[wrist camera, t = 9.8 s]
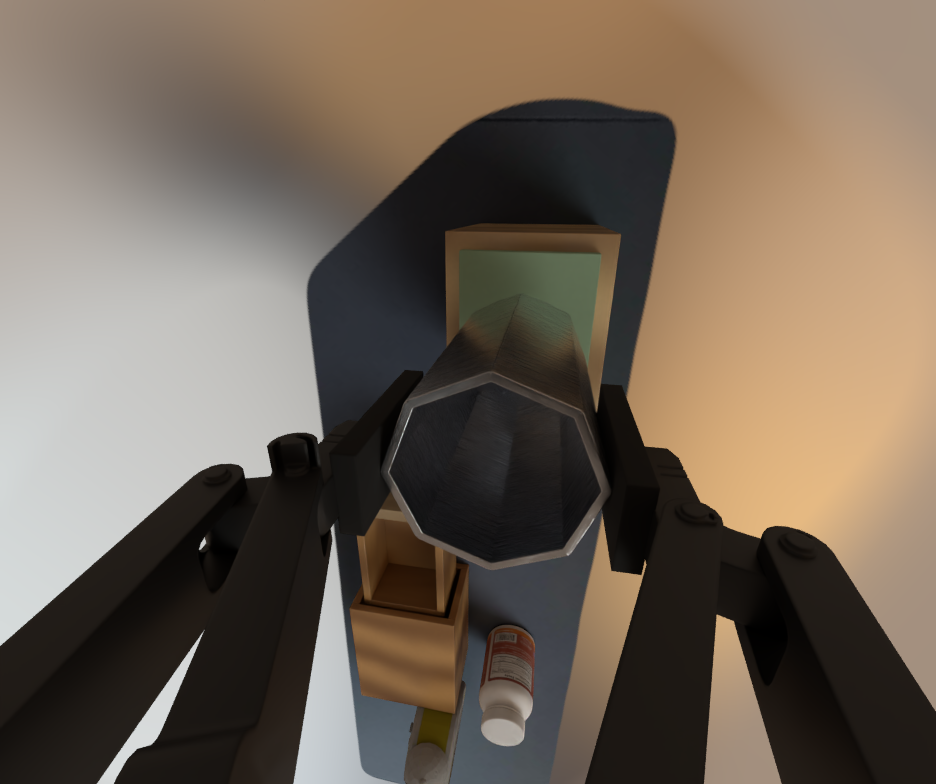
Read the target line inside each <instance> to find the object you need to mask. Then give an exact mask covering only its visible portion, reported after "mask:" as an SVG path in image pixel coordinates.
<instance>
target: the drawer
mask: <svg viewBox="0 0 936 784" xmlns="http://www.w3.org/2000/svg"><path fill="white" fill-rule="evenodd" d="M357 542H358V550H359V558H360V566H361V574H362V583H363V591H364V600H365V604H368V605H374V606H380V607H387V608H393V609H399V610H405V611H411V612H417V613H423V614H429V615H435V616H441V617H444V616H445V613H446V609H447V605H448V601H449V598H450V594H451V590H452V586H453V583H454V579H455V575H456V555H454V554H452V553H450V552H448V551H445V550H443V549H441V548H439V547H436V546H434V545H432V544H429V543H427V542H425V541H423V540H420V539H418V538H417V537H416V536H415V534H414V533H413V531H412V529H411V527H410V525H409V524H408V522H407V520H406V518H405V516H404V515H403V513H402V511H401V509H400V507H399V506H398V504H397V502H396V500H395V498H394V497H393V495H392V493H391V491H390V493H389V495H388V497H387V498H386V500H385V502H384V503H383V505H382V507H381V509H380V510H379V512H378V514H377V516H376V517H375V519H374V521H373V523H372V524H371V526H370V528H369V530H368V531H367V533H366V535H365V536H357Z"/></svg>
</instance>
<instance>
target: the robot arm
mask: <svg viewBox="0 0 936 784" xmlns="http://www.w3.org/2000/svg"><path fill="white" fill-rule="evenodd" d="M422 379H423V371H411V370H405V371H404V372H403V373H402V374H401V375H400V376H399V377H398V378H397V379H396V380H395V382H394V383H393V384H392V385H391V386H390V387H389V388H388V389H387V390H386V391H385V392H384V394H383V395H382V396H381V397H380V398H379V399H378V400H377V401H376V402H375V403H374V404H373V406H372V407H371V408H370V409H369V410H368V411H367V412H366V413H365V414H364V415H363V416H362V418H361V419H360V420H359V421H352V420H348V421H346V422H344V423H342V424H340V425H338V426H336V427H335V428H334V429H333V430H332V431H331V432H330V433H329V435H327V436H326V437H325V438H324V439H323V440H322V442H320V443H319V444H318V441H317V437H315V436H314V435H312V434H308V433H292V434H287V435H284V436H281V437H278V438H276V439H274V440H273V441H271V442H270V443H269V445H268V446H267V448H268V453H269V458H270V463H271V468H272V474H271V476H268V477H258V478H246V479H245V475H244V471H243V468H242V467H240V466H239V465H235V464H219V465H217V466H216V465H215V466H211V467H209V468H207V469H205V470H202V471H201V472H199V473H198V474H196V475H195V476H193V477H192V478H191V479H190V480H189V481H188V482H186V483H185V484H184V485H183V486H182V487H181V488H180V489H178V490H177V491H176V492H175V493H174V494H173V495H172V496H170V497H169V498H168V499H167V500H166V501H165V502H164V503H163V504H161V505H160V506H159V507H158V508H157V509H156V510H155V511H153V512H152V513H151V514H150V515H149V516H148V517H147V518H145V519H144V520H143V521H142V522H141V523H140V524H139V525H137V527H135V528H134V529H133V530H132V531H131V532H130V533H129V534H127V535H126V536H125V537H124V538H123V539H122V540H121V541H119V542H118V543H117V544H116V545H115V546H114V547H113V548H111V549H110V550H109V551H108V552H107V553H106V554H105V555H103V556H102V557H101V558H100V559H99V560H98V561H97V562H95V563H94V564H93V565H92V566H91V567H90V568H89V569H87V570H86V571H85V572H84V573H83V574H82V575H81V576H80V577H78V578H77V579H76V580H75V581H74V582H73V583H72V584H70V585H69V586H68V587H67V588H66V589H65V590H64V591H63V592H61V593H60V594H59V595H58V596H57V597H56V598H54V599H53V600H52V601H51V602H50V603H49V604H48V605H46V606H45V607H44V608H43V609H42V610H41V611H40V612H39V613H37V614H36V615H35V616H34V617H33V618H32V619H31V620H29V621H28V622H27V623H26V624H25V625H24V626H23V627H21V628H20V629H19V630H18V631H17V632H16V633H15V634H14V635H13V636H11V637H10V638H9V639H8V640H7V641H6V642H5V643H3V644H2V645H1V646H0V784H97V783H98V781H99V780H100V778H101V777H102V775H103V774H104V772H105V771H106V770H107V768H108V767H109V765H110V764H111V762H112V761H113V760H114V758H115V757H116V755H117V754H118V752H119V751H120V750H121V748H122V747H123V745H124V744H125V742H126V741H127V740H128V738H129V737H130V735H131V734H132V732H133V731H134V729H135V728H136V727H137V725H138V724H139V722H140V721H141V720H142V718H143V717H144V715H145V714H146V712H147V711H148V710H149V708H150V707H151V705H152V704H153V702H154V701H155V699H156V698H157V696H158V695H159V694H160V692H161V691H162V690H163V688H164V687H165V685H166V684H167V682H168V681H169V680H170V678H171V677H172V675H173V674H174V672H175V671H176V669H177V668H178V667H179V665H180V664H181V662H182V661H183V659H184V658H185V657H186V655H187V654H188V652H189V651H190V649H191V648H192V646H193V645H194V644H195V642H196V641H197V639H198V638H199V637H200V635H201V634H202V632H203V631H204V633H203V635H202V637H201V639H200V642H199V644H198V647H197V649H196V651H195V653H194V656H193V658H192V661H191V663H190V665H189V668H188V670H187V672H186V675H185V677H184V679H183V682H182V684H181V686H180V689H179V691H178V693H177V696H176V698H175V700H174V703H173V705H172V707H171V710H170V712H169V714H168V717H167V719H166V721H165V724H164V726H163V728H162V731H161V732H160V734H159V736H158V738H157V739H156V741H155V742H154V743H153V744H152V745H150V746H146V747H143V748H139V749H137V750H136V751H135V752H134V753H133V754H132V755H131V756H130V757H129V758H128V759H127V761H126V763H125V764H124V766H123V768H122V770H121V771H120V773H119V775H118V776H117V778H116V780H115V782H114V784H293V782H294V776H295V770H296V764H297V757H298V751H299V744H300V738H301V732H302V726H303V719H304V714H305V707H306V701H307V695H308V689H309V683H310V676H311V670H312V664H313V657H314V651H315V645H316V639H317V632H318V626H319V620H320V614H321V607H322V601H323V595H324V589H325V583H326V576H327V570H328V564H329V557H330V551H331V545H332V535H331V527H332V525H333V524H334V522H335V521H336V520H337V518H338V521H339V529H340V533H343V534H350V535H357V536H365V535H366V533H367V531H368V530H369V528H370V526H371V524H372V523H373V521H374V519H375V517H376V516H377V514H378V512H379V510H380V509H381V507H382V505H383V503H384V502H385V500H386V498H387V497H388V495H389V493H390V489H389V488H388V486H387V484H386V482H385V480H384V479H383V477H382V475H381V473H380V472H381V471H380V468H381V465H382V463H383V460H384V457H385V454H386V452H387V449H388V446H389V443H390V440H391V438H392V435H393V432H394V429H395V427H396V424H397V421H398V418H399V415H400V413H401V410H402V407H403V404H404V402H405V401H406V399H407V398H408V397H409V395H410V394H411V393H412V392H413V390H414V389H415V388H416V386H417V385H418V384H419V382H420V381H421V380H422ZM597 417H598V422H599V427H600V432H601V437H602V441H603V446H604V451H605V456H606V461H607V466H608V471H609V476H610V481H611V485H612V494H611V496H610V497H609V499H608V500H607V502H606V503H605V504H604V506H603V507H602V513H603V519H604V526H605V532H606V539H607V545H608V551H609V558H610V564H611V570H612V571H616V572H623V573H631V574H638V575H641V574H642V570H643V566H644V561H645V560H646V564H647V565H646V568H645V572H644V576H643V579H642V583H641V586H640V590H639V594H638V597H637V601H636V604H635V608H634V611H633V615H632V618H631V622H630V625H629V629H628V632H627V636H626V640H625V643H624V647H623V650H622V654H621V657H620V661H619V664H618V668H617V671H616V675H615V679H614V683H613V686H612V690H611V693H610V696H609V700H608V703H607V707H606V711H605V714H604V718H603V721H602V725H601V728H600V732H599V735H598V739H597V743H596V746H595V750H594V753H593V757H592V760H591V764H590V767H589V771H588V774H587V778H586V782H585V784H704V775H705V762H706V747H707V735H708V721H709V708H710V694H711V682H712V668H713V655H714V641H715V628H716V615H720V616H722V617H725V618H727V619H730V620H733V621H734V623H735V627H736V630H737V634H738V637H739V641H740V644H741V647H742V651H743V654H744V657H745V661H746V664H747V667H748V671H749V674H750V678H751V681H752V684H753V688H754V691H755V695H756V698H757V701H758V704H759V708H760V711H761V715H762V718H763V722H764V725H765V728H766V732H767V735H768V738H769V742H770V745H771V749H772V752H773V755H774V759H775V762H776V766H777V769H778V772H779V775H780V779H781V783H782V784H936V711H935V710H934V708H933V707H932V705H931V704H930V702H929V700H928V699H927V697H926V696H925V694H924V693H923V691H922V690H921V688H920V686H919V685H918V683H917V682H916V680H915V679H914V677H913V676H912V674H911V673H910V671H909V669H908V668H907V666H906V665H905V663H904V662H903V660H902V658H901V657H900V655H899V654H898V652H897V651H896V649H895V648H894V646H893V644H892V643H891V641H890V640H889V638H888V637H887V635H886V634H885V632H884V631H883V629H882V628H881V626H880V624H879V623H878V622H877V620H876V618H875V617H874V615H873V614H872V612H871V610H870V609H869V607H868V606H867V604H866V603H865V601H864V600H863V598H862V596H861V595H860V593H859V592H858V590H857V589H856V587H855V586H854V584H853V582H852V581H851V579H850V578H849V576H848V575H847V573H846V571H845V570H844V568H843V567H842V565H841V564H840V562H839V561H838V559H837V558H836V556H835V554H834V553H833V552H832V551H831V550H830V548H829V547H827V545H826V544H824V543H823V542H821V541H820V540H819V539H817V538H816V537H814V536H812V535H810V534H808V533H805V532H803V531H801V530H798V529H794V528H790V527H784V526H774V527H769V528H767V529H766V530H765V531H764V532H763V534H762V537H761V539H760V538H757V537H754V536H750V535H747V534H744V533H741V532H737V531H735V530H732V529H730V528H727V527H725V526H723V522H722V518H721V517H720V516H719V514H718V513H717V512H716V511H715V510H713V509H712V508H710V507H709V506H707V505H706V504H703V503H701V502H700V501H699V499H698V497H697V495H696V492H695V490H694V488H693V486H692V484H691V482H690V480H689V478H687V474H686V472H685V470H683V466H682V464H681V462H680V460H679V458H678V457H676V456H675V455H674V454H673V453H672V452H671V451H669V450H668V449H664V448H655V447H645V446H644V444H643V441H642V438H641V436H640V433H639V431H638V428H637V425H636V422H635V420H634V417H633V414H632V412H631V409H630V407H629V404H628V401H627V398H626V396H625V393H624V390H623V388H622V385H608V384H601V386H600V393H599V401H598V408H597ZM204 537H205V540H206V544H205V546H204V547H203V548H202V549H201V550H199V547H200V544H201V542H202V540H203V539H204ZM204 629H205V630H204Z"/></svg>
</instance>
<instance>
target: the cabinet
mask: <svg viewBox="0 0 936 784" xmlns="http://www.w3.org/2000/svg"><path fill="white" fill-rule="evenodd" d="M468 591H469V565H467V564H460V563H456V575H455V579H454V583H453V586H452V590H451V594H450V598H449V601H448V605H447V609H446V613H445V616H444V617H441V616H435V615H429V614H423V613H417V612H411V611H405V610H399V609H393V608H387V607H380V606H374V605H368V604H365V600H364V591H363V583H362V585H361V587H360V589H359V591H358V593H357V595H356V597H355V599H354V601H353V603H352V605H351V607H350V616H351V623H352V630H353V637H354V644H355V651H356V658H357V665H358V672H359V679H360V686H361V693H362V695H364V696H369V697H374V698H379V699H384V700H389V701H394V702H399V703H404V704H409V705H414V706H418V707H423V708H428V709H433V710H438V711H443V712H448V713H453V714H455V711H456V706H457V701H458V696H459V690H460V685H461V680H462V675H463V670H464V665H465V660H466V655H467V650H468Z"/></svg>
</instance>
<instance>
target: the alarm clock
mask: <svg viewBox="0 0 936 784" xmlns="http://www.w3.org/2000/svg"><path fill="white" fill-rule="evenodd" d="M465 690H466V684H465V682H464V681H462V680H461V685H460V690H459V696H458V701H457V706H456V711H455V714H453V713H448V712H443V711H438V710H433V709H428V708H423V707H417V711H416V715H415V719H414V723H413V722H412V723H411V727H410V732H411V731H412V732H411V736H410V738H409V743H408V744H409V747H408V752H407V758H406V764H405V772H404V781H405V783H406V784H449V782H450V777H451V771H452V766H453V761H454V755H455V749H456V744H457V738H458V732H459V727H460V721H461V715H462V709H463V703H464V697H465Z"/></svg>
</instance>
